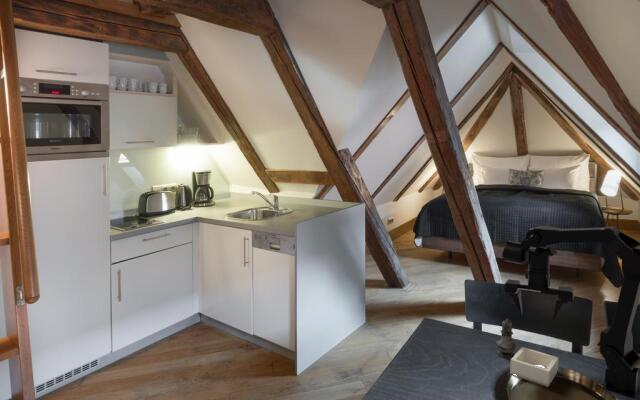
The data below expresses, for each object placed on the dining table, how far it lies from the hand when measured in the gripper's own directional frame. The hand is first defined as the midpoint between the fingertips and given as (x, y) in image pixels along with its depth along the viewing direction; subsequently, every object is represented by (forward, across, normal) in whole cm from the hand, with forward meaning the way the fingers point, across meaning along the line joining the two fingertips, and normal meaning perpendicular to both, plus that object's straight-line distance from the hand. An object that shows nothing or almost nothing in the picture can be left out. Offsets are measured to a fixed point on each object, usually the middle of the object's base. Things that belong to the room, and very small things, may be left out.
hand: (537, 316), depth 132 cm
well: (+13, -1, +11) cm, 17 cm away
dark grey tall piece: (+13, +8, +4) cm, 16 cm away
